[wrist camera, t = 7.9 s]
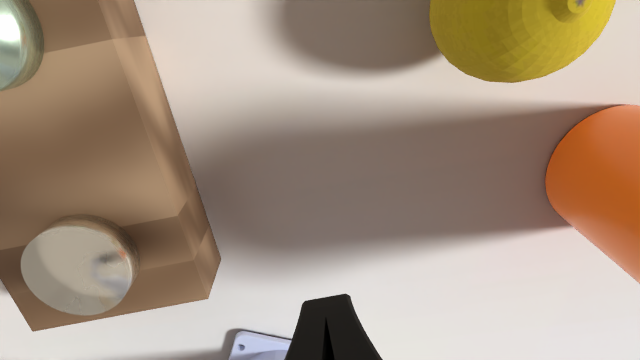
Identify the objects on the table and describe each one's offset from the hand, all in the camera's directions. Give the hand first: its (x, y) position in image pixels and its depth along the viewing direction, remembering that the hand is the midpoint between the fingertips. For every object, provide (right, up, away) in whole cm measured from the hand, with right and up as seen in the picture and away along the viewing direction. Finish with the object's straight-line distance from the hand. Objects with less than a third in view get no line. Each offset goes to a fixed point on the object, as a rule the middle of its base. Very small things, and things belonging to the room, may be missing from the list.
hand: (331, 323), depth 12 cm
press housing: (-12, +7, +8) cm, 16 cm away
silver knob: (-11, +2, +9) cm, 15 cm away
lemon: (+6, +12, +7) cm, 15 cm away
